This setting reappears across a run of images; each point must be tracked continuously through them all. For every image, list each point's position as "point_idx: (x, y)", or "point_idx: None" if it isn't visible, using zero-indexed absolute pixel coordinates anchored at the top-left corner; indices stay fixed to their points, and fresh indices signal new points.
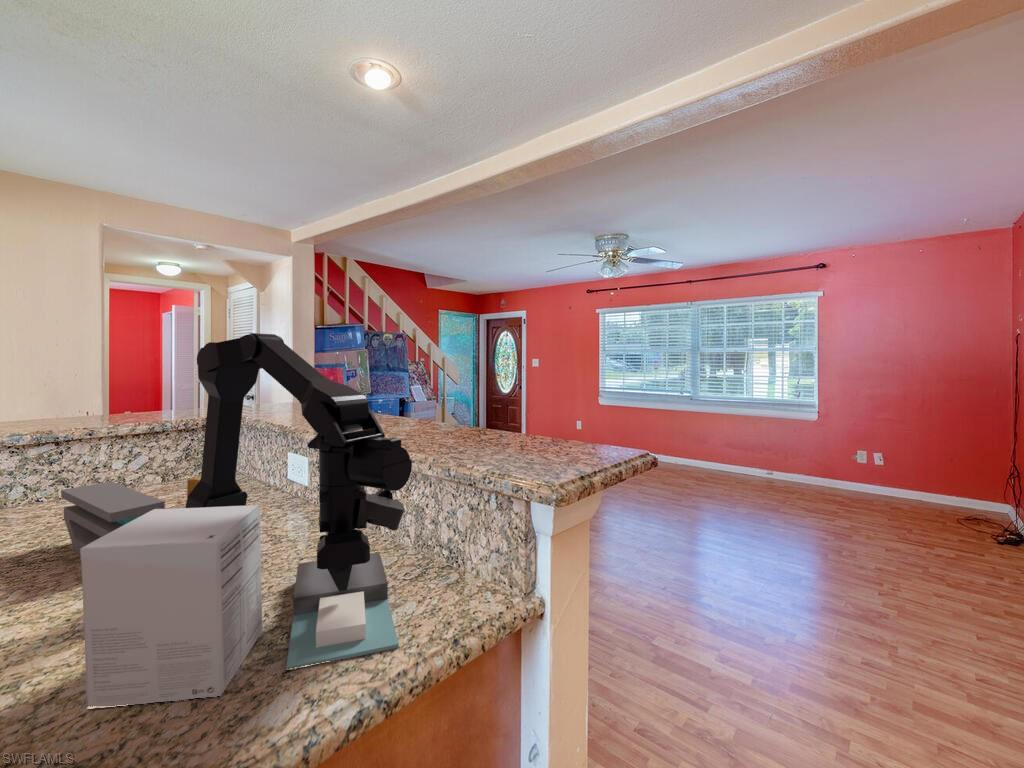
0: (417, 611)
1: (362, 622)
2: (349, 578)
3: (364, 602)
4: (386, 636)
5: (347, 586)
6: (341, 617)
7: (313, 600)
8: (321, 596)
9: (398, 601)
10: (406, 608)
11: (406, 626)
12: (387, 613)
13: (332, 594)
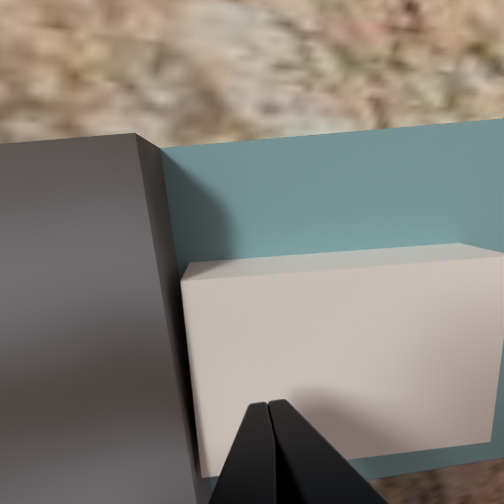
0: (287, 2)
1: (496, 270)
2: (334, 449)
3: (176, 261)
4: (477, 163)
5: (295, 410)
6: (419, 363)
7: (200, 491)
8: (196, 475)
9: (165, 94)
10: (244, 58)
11: (397, 73)
12: (303, 153)
13: (187, 432)
